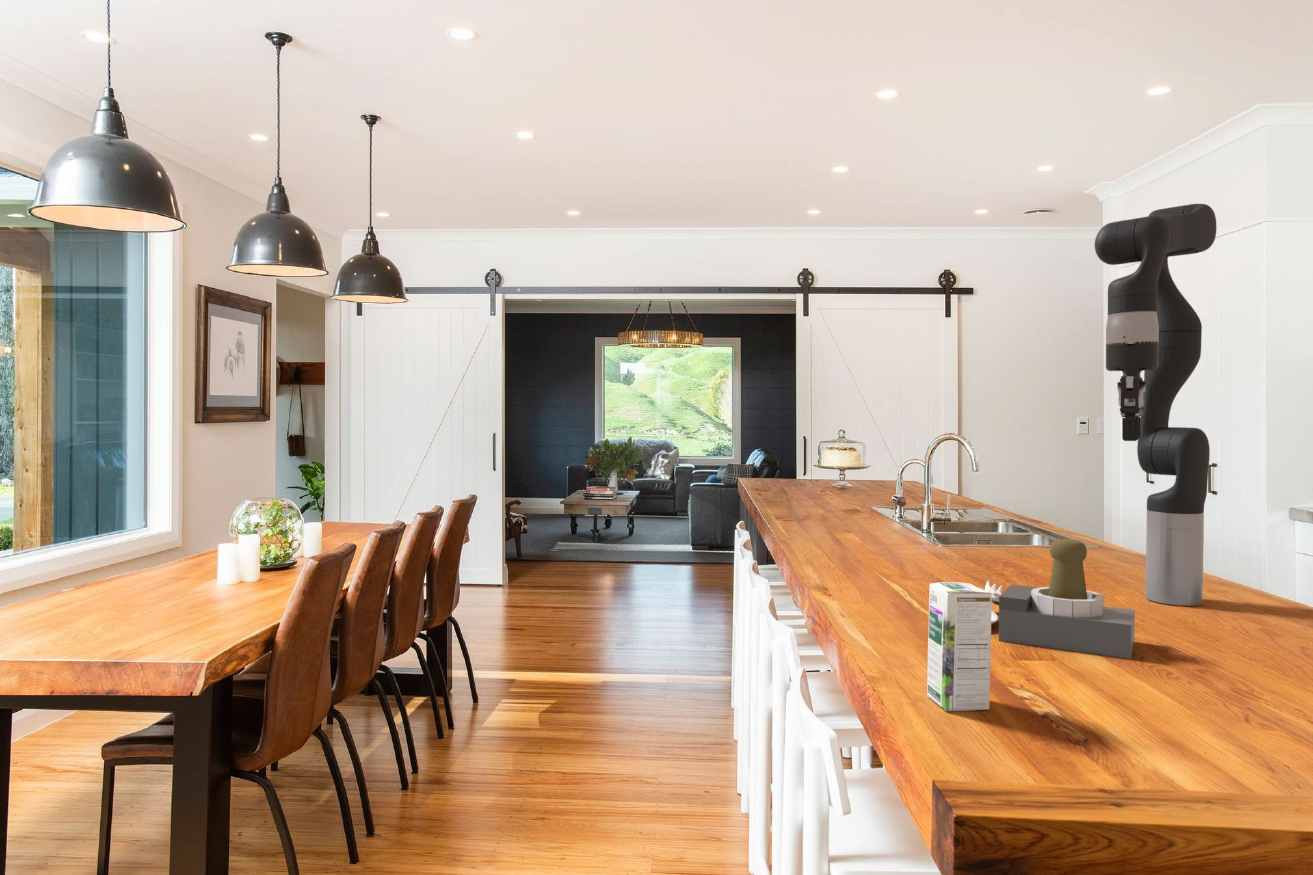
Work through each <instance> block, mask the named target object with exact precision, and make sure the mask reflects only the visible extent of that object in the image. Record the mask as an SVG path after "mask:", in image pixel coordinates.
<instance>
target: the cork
mask: <svg viewBox="0 0 1313 875" xmlns="http://www.w3.org/2000/svg"><path fill="white" fill-rule="evenodd" d="M1087 553H1088V550H1087V545H1085V543H1084V542H1082V541H1080V540H1078V539H1072V538H1059V539H1055V540H1053V541H1052V542H1051V544H1050V546H1049V554H1050V557H1051V558H1052V559H1053V560H1052V561H1053V562H1052V569H1051V574H1050V580H1049V586H1048V587H1049V592H1048V596H1051V597H1055V598H1064V599H1083V600H1086V599H1087V591H1088V590H1087V584H1086V577H1085V570H1084V564H1083V562H1084V561H1085V560H1086V558H1087V555H1088V554H1087ZM1086 590H1087V591H1086Z"/></svg>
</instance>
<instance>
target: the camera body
mask: <svg viewBox="0 0 1313 875" xmlns="http://www.w3.org/2000/svg"><path fill="white" fill-rule="evenodd" d="M1086 591H1087V599H1086V600H1083V599H1064V598H1055V597H1051V596H1048V592H1049V586H1043V587H1042V586H1041V587H1037V586H1034V587H1032V586H1030V585H1019V584H1010V585H1009V586H1008V587H1007V588H1006V589H1005V590H1004V591H1003V592H1001V595H1000V596H999V602H998V617H999V620H998V642H1005V643H1013V644H1019V645H1027V646H1035V647H1039V648H1040V647H1042V648H1048V649H1049V648H1050V649H1057V650H1062V651H1063V650H1064V651H1071V652H1077V653H1084V654H1092V655H1098V656H1099V655H1100V656H1106V657H1113V658H1120V659H1126V660H1127V659H1129V660H1131V659H1132V654H1133V649H1134V646H1135V645H1134V644H1135V626H1136V624H1135V622H1136V621H1135V620H1136V618H1135V617H1136V616H1135V615H1136V613H1135V612H1136V609H1129V608H1121V607H1111V606H1105V605H1104V603H1105V596H1104V595H1103V594H1100V593H1099V592H1095V591H1092V590H1087V589H1086Z"/></svg>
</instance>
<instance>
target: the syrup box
mask: <svg viewBox="0 0 1313 875" xmlns="http://www.w3.org/2000/svg"><path fill="white" fill-rule="evenodd" d="M928 586H929V590H928V593H929V599H928V602H929V603H928V633H927V634H928V635H927V638H928V639H927V641H928V642H927V672H926V673H927V676H926V677H927V680H926V682H927V684H926V686H927V687H926V688H927V690H926V692H927V693H926V696H927V698H929V699H931V700H932V701H933V702H935V704H937V705H938V706H939V707H941V708H942V709H943V710H944V711H945V712H967V711H969V712H971V711H987V710H990V701H991V700H990V697H991V694H990V693H991V653H992V651H991V650H992V649H991V648H992V647H991V645H992V624H991V609H992V603H993V601H992V594H991V593H992V592H987V591H985V589H983V588H980V587H977V586H976V585H973V584H972V583H968V582H959V581H957V582H956V581H944V582H943V581H941V582H934V583H932V582H931V583H929V585H928Z"/></svg>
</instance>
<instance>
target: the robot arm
mask: <svg viewBox="0 0 1313 875" xmlns="http://www.w3.org/2000/svg"><path fill="white" fill-rule="evenodd" d="M1216 236H1217V219H1216V214H1215V211H1214V209H1213V208H1212V207H1211V206H1210V205H1208V204H1206V203H1191V204H1185V205H1177V206H1173V207H1172V206H1171V207H1165V208H1159V209H1156V210H1153V211H1151V212H1150V213H1149V214H1148V216H1143V217H1138V218H1137V217H1135V218H1131V219H1125V220H1118V221H1112V222H1109V223H1107V224H1104V226H1102V227H1101V228H1100V229H1099V230H1098V232H1097V234H1096V237H1095V239H1094V250H1095V254H1096V255H1097V258H1099V260H1100V261H1101V262H1103V263H1104V264H1107V265H1111V266H1112V265H1113V266H1116V265H1117V266H1118V265H1125V264H1131V263H1133V264H1134V263H1140V264H1139V266H1138V268H1137V269H1136V270H1135V271H1134V272H1132V273H1130V274H1128V275H1125V276H1122V277H1119V278H1116V279H1114V280H1112V281H1111V282H1110V283H1109V284H1108V286H1107V320H1106V326H1105V369H1106V370H1107V371H1108V372H1122V375H1121V376H1120V378H1119V381H1117V383H1116V384H1117V394H1118V406H1119V407H1120V408H1119V412H1120V416H1121V418H1122V422H1121V424H1122V429H1121V430H1122V432H1121V435H1122V440H1123V441H1125V442H1137V445H1136V446H1137V448H1136V449H1137V450H1136V453H1137V459H1138V464H1139V467H1140V468H1141V470H1142V471H1143V472H1145V473H1147V474H1149V475H1160V476H1175V481H1174V484H1173V486H1171V487H1169V488H1168V489H1166V490H1163V491H1160V492H1156V493H1153V494H1152V493H1151V494H1150V495H1148V496H1147V499H1146V538H1145V539H1146V540H1145V541H1146V542H1145V543H1146V544H1145V547H1146V548H1145V553H1146V554H1145V599H1146V600H1148V601H1152V602H1155V603H1159V604H1165V605H1173V606H1187V607H1190V606H1200V605H1202V604H1203V595H1204V594H1203V584H1204V541H1205V540H1204V539H1205V538H1204V537H1205V536H1204V535H1205V534H1204V532H1205V531H1204V529H1205V528H1204V527H1205V524H1204V523H1205V505H1206V503H1205V502H1206V498H1207V494H1208V481H1209V480H1208V478H1209V469H1210V456H1211V455H1210V449H1211V448H1210V442H1209V439H1208V438H1209V437H1207V434H1206V433H1205V432H1204V431H1203V430H1202V429H1200V428H1198V427H1185V426H1184V427H1182V426H1180V427H1179V426H1178V427H1176V426H1175V427H1174V426H1173V427H1172V426H1171V427H1170V426H1169V420H1170V414H1171V409H1172V406H1173V404H1174V401H1175V399H1176V397H1177V395H1178V394H1179V392H1180V390H1181V389H1182V387H1183V386H1184V385H1185V384H1186V383H1187V381H1188V380H1189V379H1190V377H1191V376H1192V374H1193V373H1194V371H1195V369H1196V368H1197V366H1198V364H1199V362H1200V360H1201V356H1202V355H1201V354H1202V338H1203V337H1202V336H1203V334H1202V331H1203V327H1202V320H1201V319H1200V317H1199V315H1198V314H1197V312H1196V311H1195V309H1194V308H1193V307H1192V305H1191V304H1190V303H1189V301H1188V300H1187V298H1185V296H1184V295H1183V294H1182V292H1181V291H1180V289H1178V287H1177V285H1176V283H1175V281H1174V279H1173V278H1172V275H1171V272H1170V268H1169V263H1168V262H1169V261H1168V259H1169V258H1170V257H1177V256H1185V255H1186V256H1188V255H1193V254H1194V255H1195V254H1199V253H1203V252H1205V251H1207V250H1209V249H1210V248H1211V247H1212V246H1213V245H1214V243H1215V240H1216ZM1142 371H1143V372H1144V373H1143V374H1144V375H1143V378H1142V377H1141V373H1142Z"/></svg>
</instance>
